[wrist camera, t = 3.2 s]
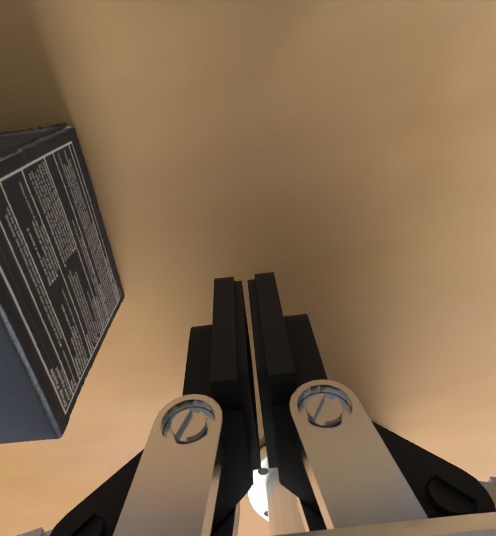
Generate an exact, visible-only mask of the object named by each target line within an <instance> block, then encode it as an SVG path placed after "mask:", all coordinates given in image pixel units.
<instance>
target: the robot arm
mask: <svg viewBox="0 0 496 536" xmlns="http://www.w3.org/2000/svg"><path fill="white" fill-rule="evenodd" d="M248 289H249V299H250V309H251V319H252V329H253V339H254V349H255V359H256V369H257V378H258V387H259V395H260V403H261V411H262V419H263V427H264V435H265V443H266V446H264V447H263V448H262V449H261V450H260V446H259V435H258V424H257V412H256V401H255V389H254V378H253V367H252V357H251V349H250V341H249V333H248V326H247V318H246V310H245V302H244V295H243V287H242V281H236V282H235V281H234V277H227V278H218V279H215V280H214V301H213V324H212V325H206V326H197V327H192V328H191V330H190V337H189V346H188V354H187V362H186V371H185V379H184V387H183V396H181V397H179V398H176V399H174V400H172V401H171V402H169V403H168V404H166V405H165V406H164V407H163V408H162V409H161V410H160V411H159V413H158V415H157V417H156V419H155V421H154V423H153V426H152V429H151V432H150V434H149V437H148V440H147V443H146V445H145V448H144V449H143V450H142V451H141V452H140V453H139V454H137V455H136V456H135V457H134V458H133V459H131V460H130V461H129V462H128V463H127V464H126V465H124V466H123V467H122V468H121V469H120V470H119V471H117V472H116V473H115V474H114V475H113V476H111V477H110V478H109V479H108V480H107V481H106V482H104V483H103V484H102V485H101V486H100V487H98V488H97V489H96V490H95V491H94V492H93V493H91V494H90V495H89V496H88V497H87V498H85V499H84V500H83V501H82V502H81V503H80V504H78V505H77V506H76V507H75V508H74V509H73V510H71V511H70V512H69V513H68V514H67V515H66V516H65V517H64V518H63V519H62V520H61V521H60V522H59V523H58V524H57V525H56V526H55V527H54V529H52V530H49V531H46V532H44V530H43V528H42V527H41V528H38V529H35V530H32V531H29V532H26V533H23V534H20V535H17V536H237V534H238V525H239V516H240V502H239V501H240V500H241V499H242V498H243V497H244V496H245V494H246V493H247V495H248V499H249V501H250V503H251V505H252V507H253V508H254V509H255V511H256V512H257V513H258V514H259V515H260V516H262V517H263V518H265V519H266V520H267V521H269V531H270V536H496V477H490V480H489V482H483V481H478V480H477V479H476V478H474V477H473V476H471V475H470V474H468V473H467V472H465V471H464V470H462V469H460V468H458V467H456V466H455V465H453V464H451V463H449V462H447V461H445V460H443V459H441V458H440V457H438V456H436V455H434V454H432V453H430V452H428V451H427V450H425V449H423V448H421V447H419V446H417V445H415V444H413V443H412V442H410V441H408V440H406V439H404V438H402V437H400V436H399V435H397V434H395V433H393V432H391V431H389V430H387V429H385V428H384V427H382V426H380V425H378V424H376V423H374V422H372V421H371V420H370V418H369V416H368V415H367V413H366V411H365V409H364V408H363V406H362V404H361V403H360V401H359V399H358V398H357V396H356V395H355V394H354V393H353V391H352V390H351V389H349V388H348V387H346V386H345V385H343V384H341V383H338V382H335V381H332V380H327V376H326V373H325V370H324V367H323V364H322V360H321V357H320V354H319V351H318V347H317V344H316V341H315V338H314V334H313V331H312V328H311V325H310V321H309V318H308V316H307V314H302V315H293V316H284V317H283V313H282V309H281V304H280V300H279V295H278V290H277V286H276V281H275V277H274V272H270V273H261V274H255V279H253V280H248Z"/></svg>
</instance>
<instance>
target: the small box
mask: <svg viewBox="0 0 496 536" xmlns="http://www.w3.org/2000/svg"><path fill="white" fill-rule="evenodd" d="M123 300H124V294H123V291H122V287H121V284H120V280H119V277H118V273H117V269H116V267H115V263H114V260H113V256H112V253H111V249H110V246H109V243H108V239H107V236H106V232H105V229H104V226H103V223H102V219H101V216H100V213H99V209H98V205H97V202H96V199H95V196H94V192H93V189H92V186H91V182H90V179H89V176H88V172H87V169H86V165H85V162H84V159H83V156H82V153H81V150H80V146H79V143H78V140H77V137H76V133H75V129H74V127H72V126H70V125H68V124H66V123H63V124H57V125H53V126H50V127H48V128H43V127H39V128H38V129H28V130H26V131H25V130H21V131H14V132H3V133H0V444H5V443H14V442H24V441H34V440H47V439H59V438H61V437H62V435H63V433H64V431H65V429H66V427H67V424H68V422H69V418H70V414H71V412H72V410H73V408H74V405H75V403H76V399H77V397H78V395H79V393H80V391H81V387H82V386H83V385H84V381H85V378H86V377H87V375H88V372H89V370H90V369H91V367H92V365H93V362H94V360H95V358H96V355H97V353H98V351H99V349H100V347H101V345H102V342H103V340H104V338H105V336H106V334H107V331H108V329H109V328H110V326H111V323H112V321H113V319H114V317H115V315H116V313H117V311H118V309H119V307H120V305H121V303H122V301H123Z"/></svg>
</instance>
